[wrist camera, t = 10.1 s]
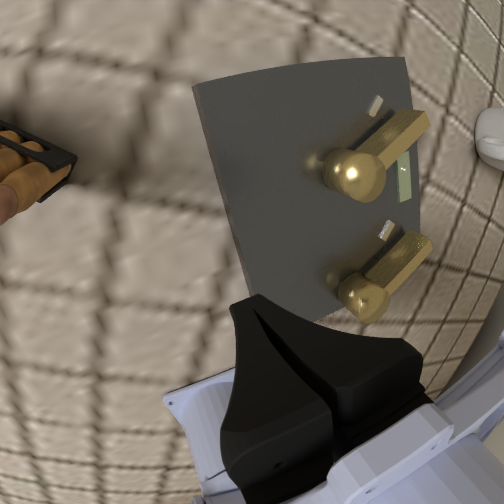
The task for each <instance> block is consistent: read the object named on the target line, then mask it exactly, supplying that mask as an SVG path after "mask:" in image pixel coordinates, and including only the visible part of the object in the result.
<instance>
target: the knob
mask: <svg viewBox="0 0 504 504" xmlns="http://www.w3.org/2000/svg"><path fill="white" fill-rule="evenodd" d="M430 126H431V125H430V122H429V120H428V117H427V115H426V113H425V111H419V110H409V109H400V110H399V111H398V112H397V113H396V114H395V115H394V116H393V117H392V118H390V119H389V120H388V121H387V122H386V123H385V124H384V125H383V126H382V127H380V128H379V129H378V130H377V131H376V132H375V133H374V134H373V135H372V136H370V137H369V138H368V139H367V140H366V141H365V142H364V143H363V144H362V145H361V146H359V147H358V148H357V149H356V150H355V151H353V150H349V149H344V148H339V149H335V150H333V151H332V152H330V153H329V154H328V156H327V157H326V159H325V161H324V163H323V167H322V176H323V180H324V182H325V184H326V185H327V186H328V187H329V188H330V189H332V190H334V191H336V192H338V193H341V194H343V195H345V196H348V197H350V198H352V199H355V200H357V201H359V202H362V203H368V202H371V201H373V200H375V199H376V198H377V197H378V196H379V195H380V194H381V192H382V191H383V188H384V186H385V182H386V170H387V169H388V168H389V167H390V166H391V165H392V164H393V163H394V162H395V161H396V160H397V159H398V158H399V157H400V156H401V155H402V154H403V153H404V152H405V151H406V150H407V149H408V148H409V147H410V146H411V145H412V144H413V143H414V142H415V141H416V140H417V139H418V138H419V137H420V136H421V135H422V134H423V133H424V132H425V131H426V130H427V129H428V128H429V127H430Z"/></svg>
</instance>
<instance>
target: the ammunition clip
mask: <svg viewBox="0 0 504 504" xmlns="http://www.w3.org/2000/svg"><path fill="white" fill-rule="evenodd" d="M77 159H78V158H77V156H76V155H74V154H72V153H70V152H68V151H66V150H64V149H62V148H59V147H57V146H55V145H53V144H51V143H49V142H47V141H45V140H42V139H40V138H38V137H36V136H34V135H32V134H30V133H28V132H25V131H23V130H21V129H19V128H17V127H15V126H13V125H10V124H8V123H6V122H4V121H2V120H0V225H2V224H3V223H5V222H6V221H7V220H8V219H9V218H12V217H13V216H14V215H16V214H17V213H20V212H23V211H25V210H27V209H28V208H29V207H30V206H31V205H33V204H34V203H35V202H36V201H37V202H39V203H42V202H43V201H44V200H46V199H47V198H48V197H49V196H51V195H52V194H53V193H55V192H56V191H57V190H59V189H60V188H61V187H63V186H64V185H65V184H67V181H68V179H69V177H70V174H71V172H72V170H73V167H74V165H75V163H76V161H77Z"/></svg>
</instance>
